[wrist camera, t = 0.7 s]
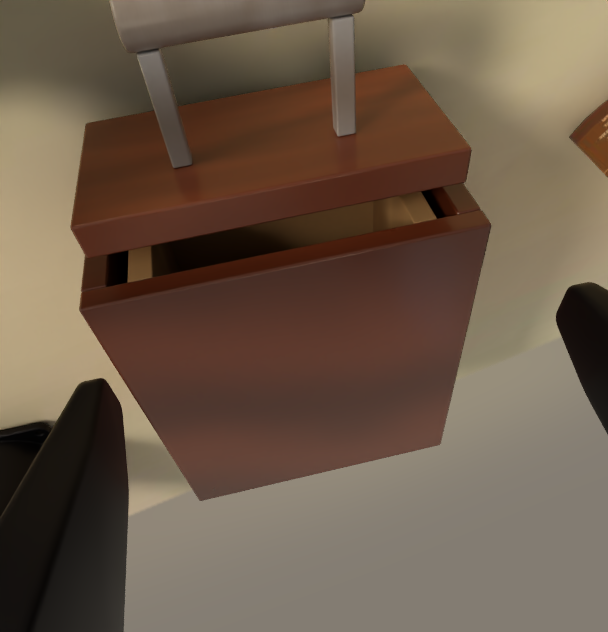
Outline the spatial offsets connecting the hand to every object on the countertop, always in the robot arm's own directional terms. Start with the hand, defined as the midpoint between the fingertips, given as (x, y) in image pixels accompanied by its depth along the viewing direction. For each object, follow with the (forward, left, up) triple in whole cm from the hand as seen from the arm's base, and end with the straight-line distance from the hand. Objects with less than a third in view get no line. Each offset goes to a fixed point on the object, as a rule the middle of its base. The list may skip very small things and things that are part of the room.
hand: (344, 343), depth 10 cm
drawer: (0, -5, -12) cm, 13 cm away
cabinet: (0, -10, -13) cm, 17 cm away
